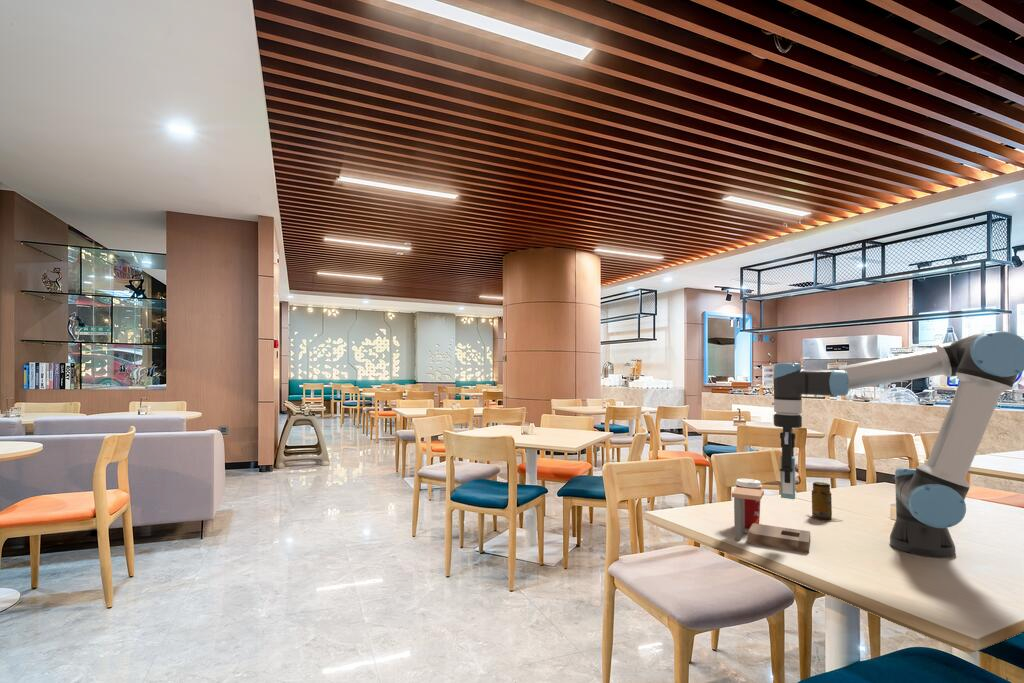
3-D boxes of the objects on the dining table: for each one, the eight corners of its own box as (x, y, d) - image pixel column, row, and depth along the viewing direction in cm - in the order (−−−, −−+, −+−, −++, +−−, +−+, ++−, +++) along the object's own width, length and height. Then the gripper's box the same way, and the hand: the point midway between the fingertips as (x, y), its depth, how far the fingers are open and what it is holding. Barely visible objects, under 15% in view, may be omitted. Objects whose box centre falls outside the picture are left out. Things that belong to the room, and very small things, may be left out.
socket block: (810, 541, 160) (810, 531, 160) (808, 553, 150) (808, 542, 150) (752, 532, 168) (752, 523, 168) (747, 543, 158) (747, 532, 158)
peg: (795, 497, 159) (794, 456, 160) (794, 499, 156) (794, 458, 156) (781, 495, 161) (781, 455, 161) (780, 497, 158) (780, 457, 158)
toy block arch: (764, 535, 166) (763, 490, 166) (760, 544, 157) (760, 496, 158) (737, 531, 170) (736, 487, 170) (732, 539, 161) (731, 493, 162)
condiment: (822, 514, 191) (822, 480, 191) (842, 521, 182) (841, 486, 183) (805, 515, 189) (804, 481, 190) (824, 522, 181) (823, 486, 181)
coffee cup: (765, 530, 170) (764, 483, 171) (738, 529, 172) (737, 482, 173) (759, 523, 179) (758, 478, 179) (733, 521, 180) (732, 477, 181)
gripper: (776, 411, 169) (776, 485, 167) (771, 414, 154) (771, 496, 153) (803, 412, 165) (803, 488, 164) (800, 416, 150) (801, 499, 149)
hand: (788, 492), depth 158 cm, fingers closed on peg, 4 cm apart
